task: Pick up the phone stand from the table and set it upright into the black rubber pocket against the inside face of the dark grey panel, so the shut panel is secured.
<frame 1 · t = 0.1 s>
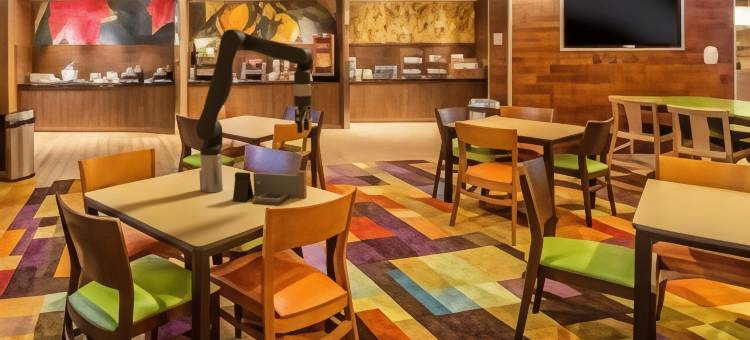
hand: (303, 131, 272), 29 cm above the table, tool pointing down, fingers open, 8 cm apart
stopper pocket: (272, 200, 270), on the table
phone stand: (243, 199, 272), on the table
dark grey panel: (276, 196, 277), on the table
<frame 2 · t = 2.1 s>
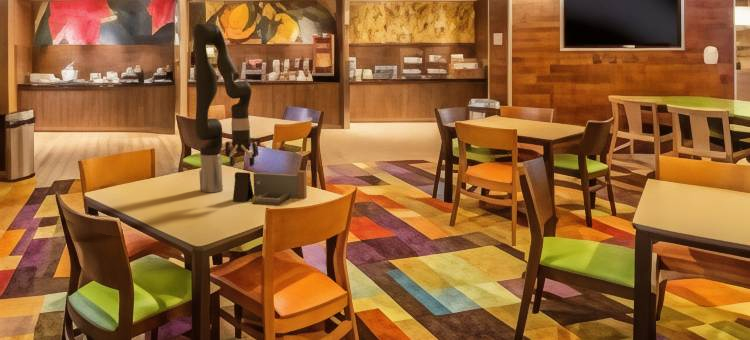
hand: (242, 165, 268), 15 cm above the table, tool pointing down, fingers open, 8 cm apart
nothing on the table moved.
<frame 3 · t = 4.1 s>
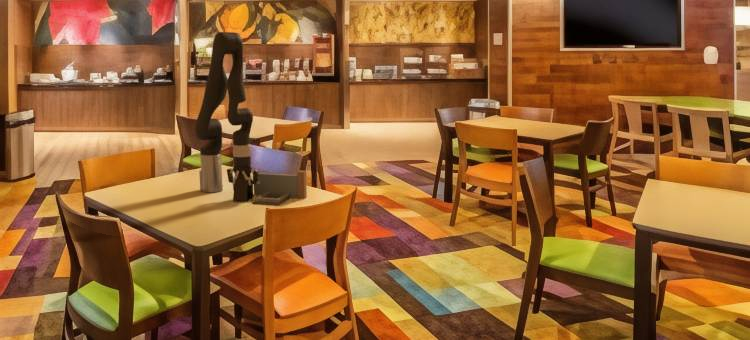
hand: (243, 192, 271), 3 cm above the table, tool pointing down, fingers closed on phone stand, 6 cm apart
phone stand: (243, 199, 272), on the table, touching gripper
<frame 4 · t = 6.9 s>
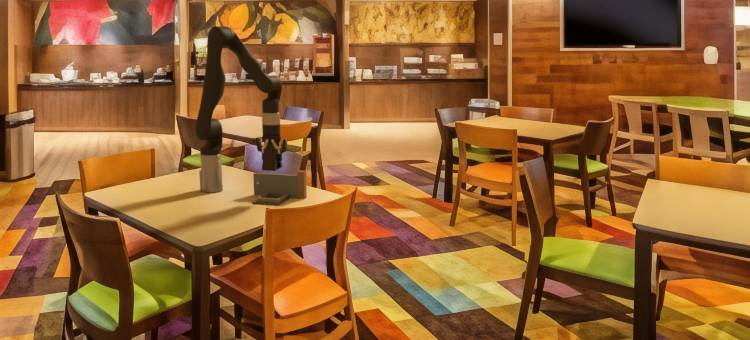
hand: (272, 161, 268), 17 cm above the table, tool pointing down, fingers closed on phone stand, 6 cm apart
phone stand: (272, 169, 268), point 14 cm above the table, touching gripper
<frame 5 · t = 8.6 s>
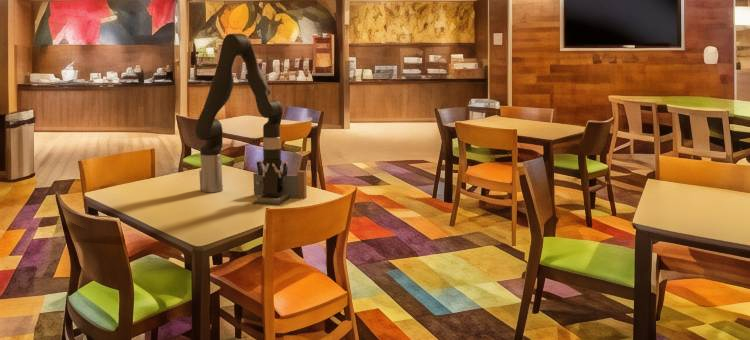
hand: (273, 185, 270), 7 cm above the table, tool pointing down, fingers closed on phone stand, 6 cm apart
phone stand: (273, 192, 270), point 3 cm above the table, touching gripper
when the fingers open (5 cm above the table, at t = 9.8 s): phone stand drops 2 cm, resting on stopper pocket.
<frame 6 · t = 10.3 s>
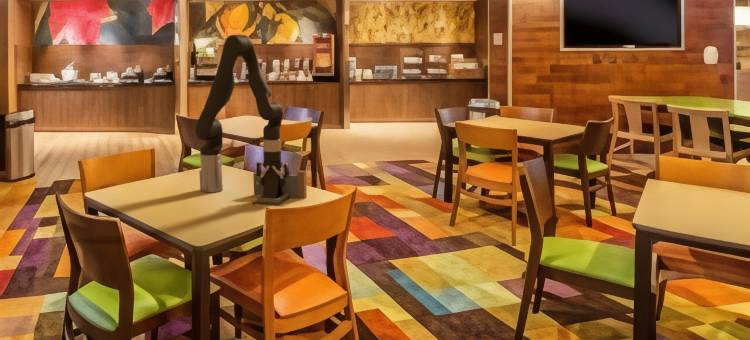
hand: (273, 186, 270), 6 cm above the table, tool pointing down, fingers open, 8 cm apart
phone stand: (273, 198, 271), resting on stopper pocket
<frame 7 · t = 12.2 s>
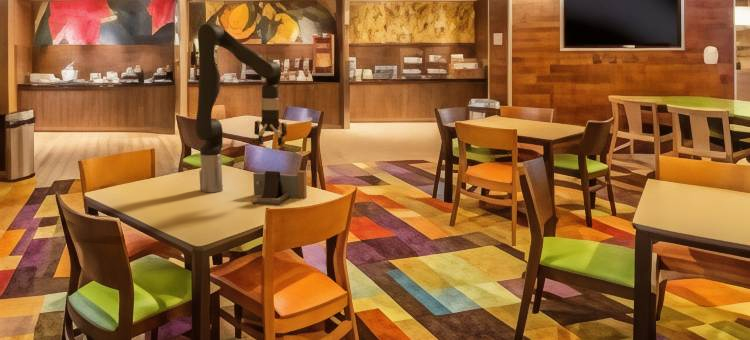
hand: (270, 145, 273), 23 cm above the table, tool pointing down, fingers open, 8 cm apart
nothing on the table moved.
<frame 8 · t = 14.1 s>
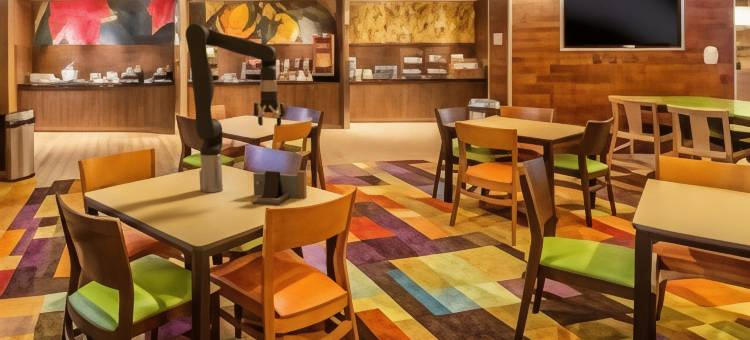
hand: (269, 125, 283), 30 cm above the table, tool pointing down, fingers open, 8 cm apart
nothing on the table moved.
at the end: phone stand 0.2 cm from the target spot, resting on stopper pocket; phone stand tilted 0°; the gripper is holding nothing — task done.
